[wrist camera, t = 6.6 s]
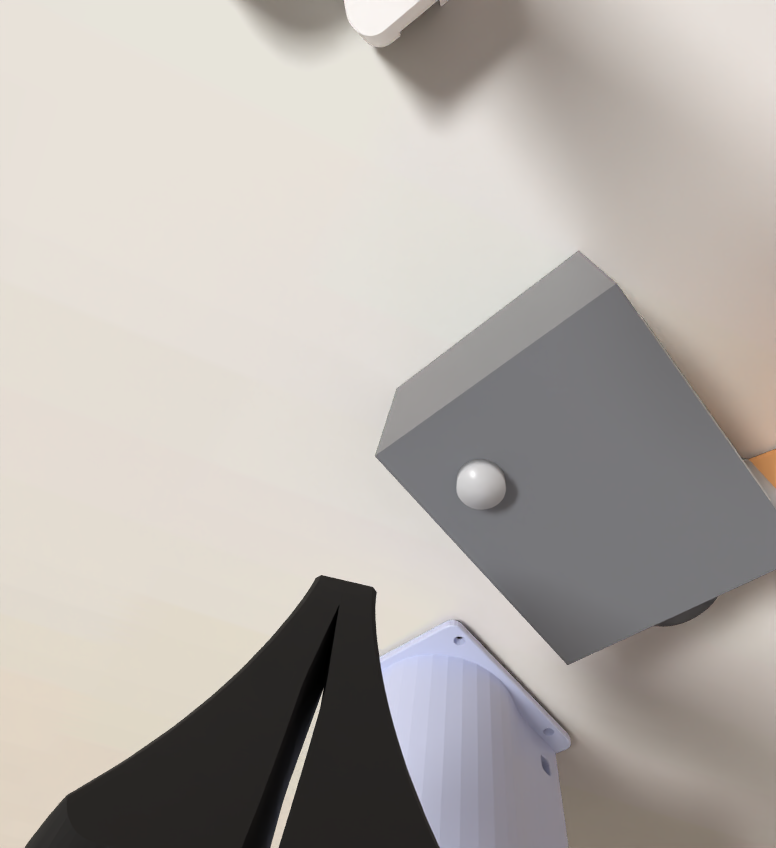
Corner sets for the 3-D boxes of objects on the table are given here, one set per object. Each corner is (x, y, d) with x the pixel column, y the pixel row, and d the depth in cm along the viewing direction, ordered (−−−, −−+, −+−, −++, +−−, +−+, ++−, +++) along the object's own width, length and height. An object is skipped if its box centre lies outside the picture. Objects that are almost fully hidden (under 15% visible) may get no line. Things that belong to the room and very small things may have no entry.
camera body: (752, 489, 22) (845, 598, 16) (568, 585, 25) (595, 704, 19) (581, 248, 19) (625, 284, 14) (396, 388, 22) (372, 464, 17)
